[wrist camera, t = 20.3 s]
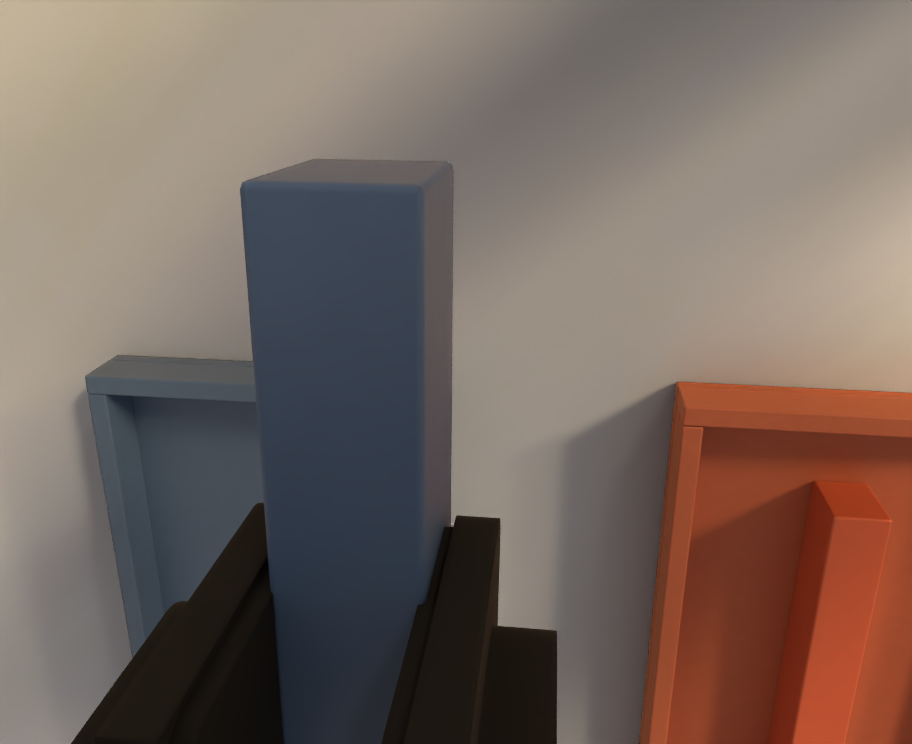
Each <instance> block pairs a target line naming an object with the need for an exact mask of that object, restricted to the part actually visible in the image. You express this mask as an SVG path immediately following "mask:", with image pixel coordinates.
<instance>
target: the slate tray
mask: <svg viewBox="0 0 912 744" xmlns="http://www.w3.org/2000/svg"><path fill="white" fill-rule="evenodd" d="M85 380H86V386H87V391H88V393H89V394H88V397H89V403H90V409H91V415H92V421H93V427H94V433H95V439H96V445H97V451H98V456H99V462H100V468H101V474H102V480H103V486H104V492H105V498H106V504H107V509H108V515H109V521H110V527H111V533H112V539H113V545H114V551H115V557H116V562H117V568H118V574H119V580H120V586H121V592H122V598H123V604H124V610H125V616H126V621H127V627H128V633H129V639H130V645H131V651H132V657H134V656H135V654H136V653H137V652H138V650H139V649H140V647H141V646H142V645H143V643H144V642H145V640H146V639H147V638H148V636H149V635H150V634H151V632H152V631H153V629H154V628H155V627H156V625H157V624H158V622H159V621H160V620H161V618H162V617H163V615H164V614H165V613H166V611H167V610H168V609H169V608H170V607H171V606H172V605H173V604H174V603H176V602H179V601H188V600H189V599H190V597H191V596H192V595H193V593H194V592H195V590H196V589H197V587H198V586H199V584H200V583H201V582H202V580H203V579H204V577H205V576H206V574H207V573H208V572H209V570H210V569H211V567H212V566H213V564H214V563H215V561H216V560H217V559H218V557H219V556H220V554H221V553H222V551H223V550H224V548H225V547H226V546H227V544H228V543H229V541H230V540H231V538H232V537H233V536H234V534H235V533H236V531H237V530H238V528H239V527H240V525H241V524H242V523H243V521H244V520H245V518H246V517H247V515H248V514H249V513H250V511H251V510H252V508H253V507H254V506H255V505H256V504H257V503H264V498H263V484H262V471H261V458H260V445H259V432H258V419H257V405H256V392H255V379H254V366H253V362H252V361H231V360H210V359H189V358H168V357H147V356H126V355H117V356H115V357H114V358H112V359H111V360H109V361H108V362H106V363H105V364H103V365H102V366H100V367H99V368H97V369H96V370H94V371H92V372H91V373H89V374H88V375H86V376H85Z"/></svg>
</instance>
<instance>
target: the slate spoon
mask: <svg viewBox="0 0 912 744" xmlns="http://www.w3.org/2000/svg"><path fill="white" fill-rule="evenodd" d="M453 171H454V170H453V167H452V164H450V163H448V162H443V161H393V160H342V159H313V160H309V161H306V162H303V163H300V164H297V165H294V166H291V167H287V168H284V169H281V170H278V171H275V172H272V173H269V174H265V175H262V176H259V177H256V178H253V179H250V180H247V181H245V182H242V185H241V188H240V195H241V208H242V221H243V234H244V247H245V260H246V274H247V287H248V300H249V313H250V326H251V339H252V353H253V366H254V379H255V392H256V405H257V419H258V432H259V445H260V458H261V471H262V484H263V498H264V511H265V524H266V537H267V550H268V563H269V577H270V589H271V592H272V593H273V605H274V618H275V632H276V645H277V659H278V672H279V686H280V700H281V713H282V727H283V740H284V744H381V743H382V739H383V734H384V731H385V727H386V723H387V719H388V715H389V712H390V708H391V704H392V700H393V696H394V693H395V689H396V685H397V681H398V678H399V674H400V670H401V666H402V662H403V659H404V655H405V651H406V647H407V643H408V640H409V636H410V632H411V628H412V624H413V621H414V617H415V613H416V609H417V606H418V605H420V604H423V603H424V602H425V601H426V600H427V596H428V592H429V588H430V584H431V580H432V576H433V572H434V568H435V563H436V559H437V555H438V551H439V547H440V543H441V539H442V535H443V531H444V528H445V527H446V526H447V527H451V431H452V301H453Z"/></svg>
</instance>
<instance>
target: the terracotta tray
mask: <svg viewBox="0 0 912 744" xmlns="http://www.w3.org/2000/svg"><path fill="white" fill-rule="evenodd" d="M813 481H826V482H843V483H859V484H867V485H868V486H869V488H870V489H871V491H872V492H873V494H874V495H875V497H876V498H877V499H878V501H879V502H880V504H881V505H882V507H883V508H884V510H885V511H886V513H887V514H888V515H889V517H890V518H891V520H892V525H891V529H890V534H889V539H888V543H887V548H886V553H885V557H884V562H883V567H882V571H881V576H880V581H879V585H878V590H877V595H876V599H875V604H874V609H873V613H872V618H871V623H870V627H869V632H868V637H867V641H866V646H865V651H864V655H863V660H862V665H861V669H860V674H859V678H858V683H857V688H856V692H855V697H854V702H853V706H852V711H851V716H850V720H849V725H848V730H847V734H846V739H845V744H912V393H901V392H880V391H859V390H838V389H817V388H796V387H775V386H754V385H733V384H712V383H691V382H677V383H676V390H675V400H674V410H673V420H672V429H671V439H670V449H669V458H668V468H667V478H666V488H665V497H664V507H663V517H662V526H661V536H660V546H659V555H658V565H657V575H656V585H655V594H654V604H653V614H652V623H651V633H650V643H649V653H648V662H647V672H646V682H645V691H644V701H643V711H642V720H641V730H640V740H639V744H768V739H769V734H770V728H771V722H772V716H773V710H774V705H775V699H776V693H777V687H778V681H779V675H780V670H781V664H782V658H783V652H784V646H785V641H786V635H787V629H788V623H789V617H790V612H791V606H792V600H793V594H794V588H795V582H796V577H797V571H798V565H799V559H800V553H801V548H802V542H803V536H804V530H805V524H806V519H807V513H808V507H809V501H810V495H811V490H812V484H813Z"/></svg>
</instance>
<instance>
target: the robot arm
mask: <svg viewBox="0 0 912 744" xmlns="http://www.w3.org/2000/svg"><path fill="white" fill-rule="evenodd" d="M499 559H500V518H486V517H471V516H456V519H455V523H454V527H447V526H446V527H445V528H444V531H443V535H442V539H441V543H440V547H439V551H438V555H437V559H436V563H435V568H434V572H433V576H432V580H431V584H430V588H429V592H428V596H427V600H426V601H425V602H424V603H423V604H420V605H418V606H417V609H416V613H415V617H414V621H413V624H412V628H411V632H410V636H409V640H408V643H407V647H406V651H405V655H404V659H403V662H402V666H401V670H400V674H399V678H398V681H397V685H396V689H395V693H394V696H393V700H392V704H391V708H390V712H389V715H388V719H387V723H386V727H385V731H384V734H383V739H382V743H381V744H557V631H553V630H541V629H528V628H516V627H504V626H497V623H498V591H499ZM71 744H284V740H283V727H282V713H281V700H280V686H279V672H278V659H277V645H276V632H275V618H274V605H273V593H272V592H271V589H270V577H269V563H268V550H267V537H266V524H265V511H264V503H257V504H256V505H255V506H254V507H253V508H252V510H251V511H250V513H249V514H248V515H247V517H246V518H245V520H244V521H243V523H242V524H241V525H240V527H239V528H238V530H237V531H236V533H235V534H234V536H233V537H232V538H231V540H230V541H229V543H228V544H227V546H226V547H225V548H224V550H223V551H222V553H221V554H220V556H219V557H218V559H217V560H216V561H215V563H214V564H213V566H212V567H211V569H210V570H209V572H208V573H207V574H206V576H205V577H204V579H203V580H202V582H201V583H200V584H199V586H198V587H197V589H196V590H195V592H194V593H193V595H192V596H191V597H190V599H189V600H188V601H179V602H176V603H174V604H173V605H172V606H171V607H170V608H169V609H168V610H167V611H166V613H165V614H164V615H163V617H162V618H161V620H160V621H159V622H158V624H157V625H156V627H155V628H154V629H153V631H152V632H151V634H150V635H149V636H148V638H147V639H146V640H145V642H144V643H143V645H142V646H141V647H140V649H139V650H138V652H137V653H136V654H135V656H134V657H133V658H132V660H131V661H130V663H129V664H128V665H127V667H126V668H125V670H124V671H123V672H122V674H121V675H120V676H119V678H118V679H117V681H116V682H115V683H114V685H113V686H112V688H111V689H110V690H109V692H108V693H107V695H106V696H105V697H104V699H103V700H102V701H101V703H100V704H99V706H98V707H97V708H96V710H95V711H94V713H93V714H92V715H91V717H90V718H89V719H88V721H87V722H86V724H85V725H84V726H83V728H82V729H81V731H80V732H79V733H78V735H77V736H76V737H75V739H74V740H73V742H72V743H71Z"/></svg>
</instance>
